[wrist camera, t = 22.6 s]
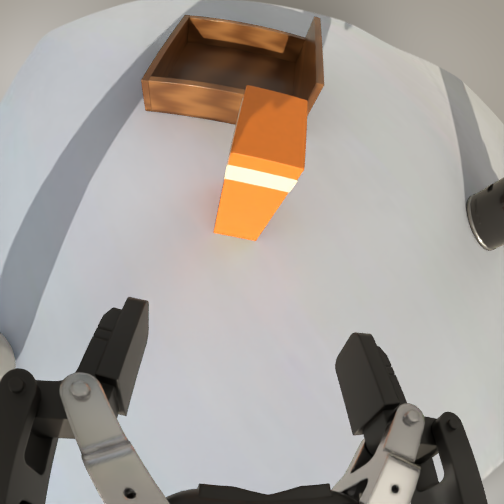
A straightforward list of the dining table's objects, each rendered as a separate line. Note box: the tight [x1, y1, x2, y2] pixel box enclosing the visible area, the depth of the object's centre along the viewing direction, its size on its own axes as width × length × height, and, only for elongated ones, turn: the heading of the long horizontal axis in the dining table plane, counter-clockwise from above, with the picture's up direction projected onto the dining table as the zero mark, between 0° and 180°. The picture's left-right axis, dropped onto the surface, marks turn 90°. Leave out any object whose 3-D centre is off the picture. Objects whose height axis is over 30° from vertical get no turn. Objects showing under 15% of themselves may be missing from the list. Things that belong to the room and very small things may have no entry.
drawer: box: [141, 15, 324, 125], centre depth 28 cm, size 18×16×9 cm
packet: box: [214, 85, 308, 241], centre depth 22 cm, size 4×6×13 cm
